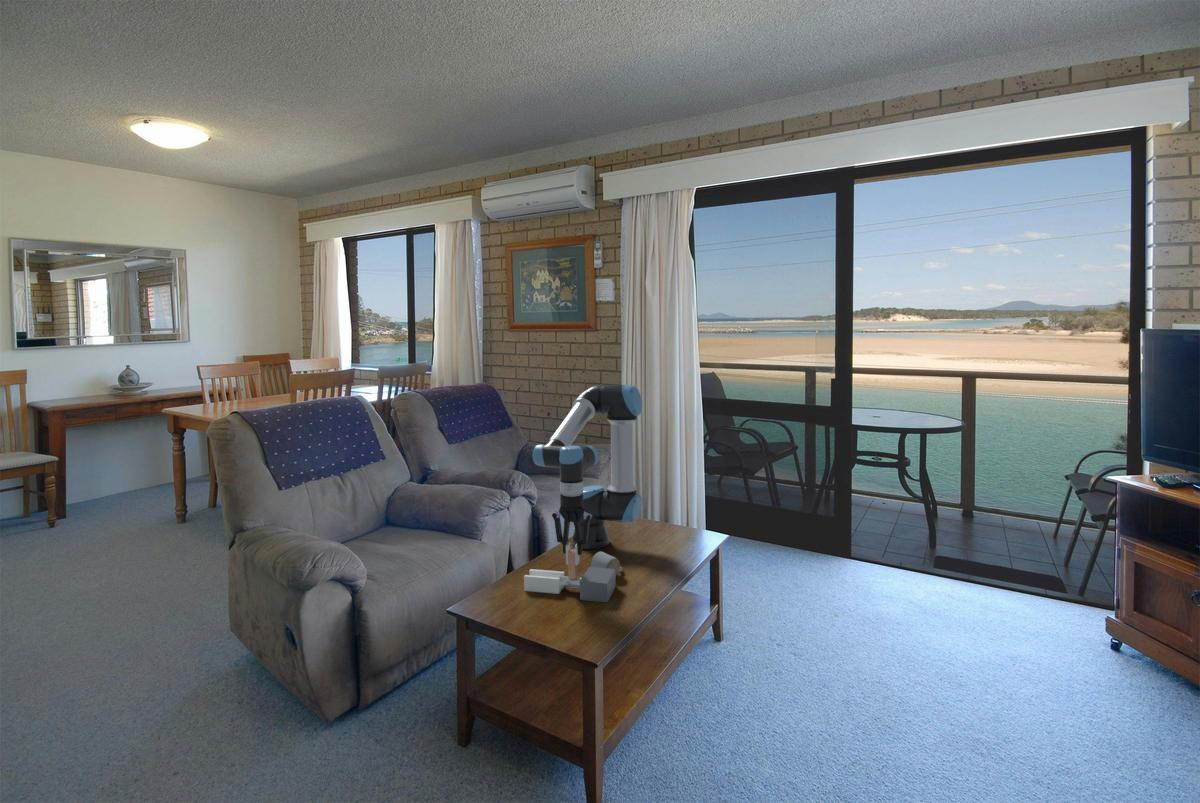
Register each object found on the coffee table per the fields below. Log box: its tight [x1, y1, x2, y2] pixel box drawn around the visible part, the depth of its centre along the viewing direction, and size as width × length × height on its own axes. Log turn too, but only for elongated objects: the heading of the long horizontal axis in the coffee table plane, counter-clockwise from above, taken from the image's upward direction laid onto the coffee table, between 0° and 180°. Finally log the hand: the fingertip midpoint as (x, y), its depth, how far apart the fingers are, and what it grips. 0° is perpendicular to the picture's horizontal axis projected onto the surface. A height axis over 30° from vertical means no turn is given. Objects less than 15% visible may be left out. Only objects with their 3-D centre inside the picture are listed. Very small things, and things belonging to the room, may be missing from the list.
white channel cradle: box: [523, 568, 565, 595], centre depth 205 cm, size 6×12×5 cm, turn 76°
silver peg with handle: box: [558, 548, 582, 589], centre depth 201 cm, size 3×16×12 cm, turn 76°
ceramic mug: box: [590, 551, 623, 576], centre depth 217 cm, size 11×8×8 cm
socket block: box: [579, 566, 617, 603], centre depth 201 cm, size 12×9×6 cm
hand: (572, 563), depth 202 cm, fingers closed on silver peg with handle, 2 cm apart
